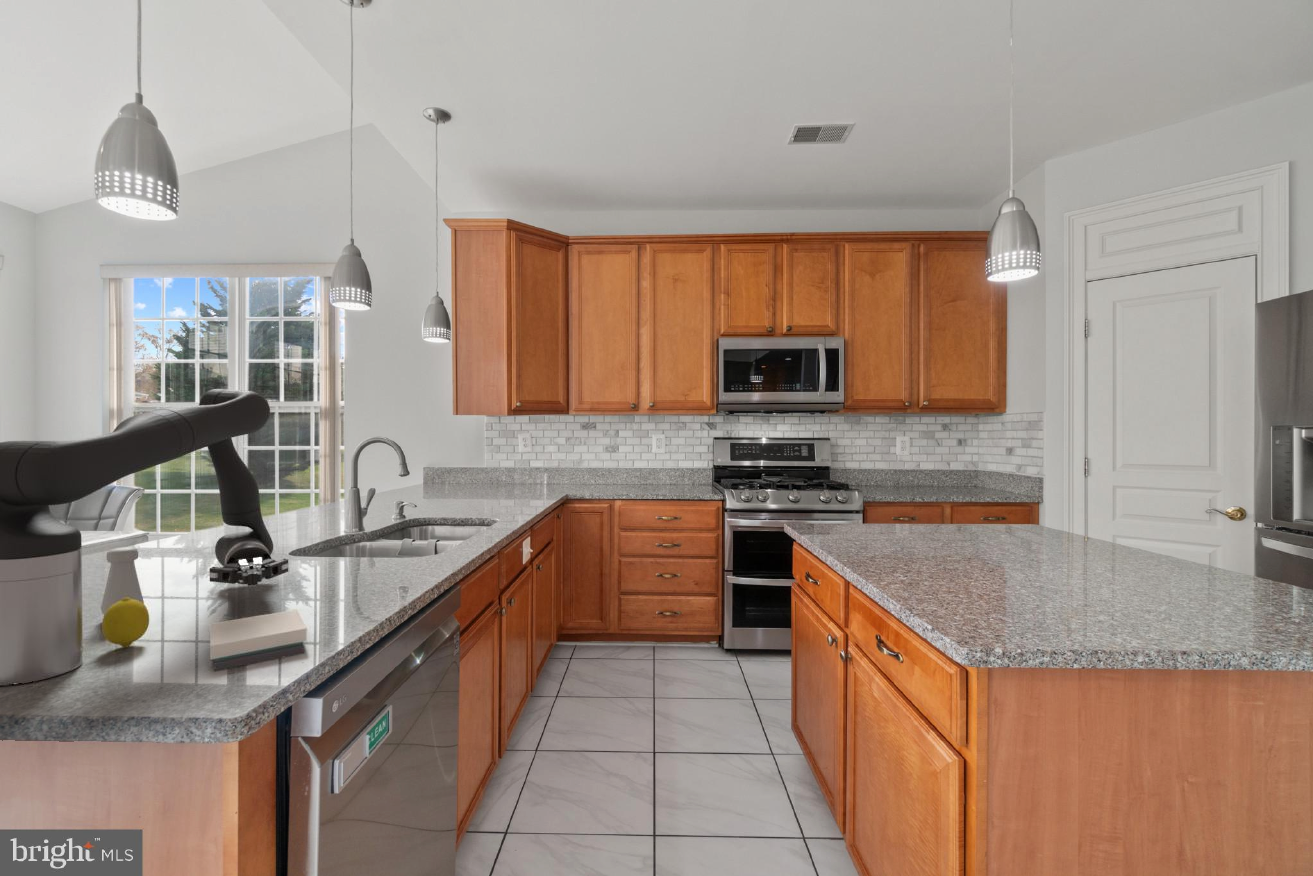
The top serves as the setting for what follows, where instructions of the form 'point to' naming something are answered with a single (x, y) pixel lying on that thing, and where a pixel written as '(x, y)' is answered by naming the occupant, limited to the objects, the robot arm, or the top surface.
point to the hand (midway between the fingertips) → (252, 579)
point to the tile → (256, 634)
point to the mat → (258, 657)
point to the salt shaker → (121, 577)
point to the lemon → (125, 622)
